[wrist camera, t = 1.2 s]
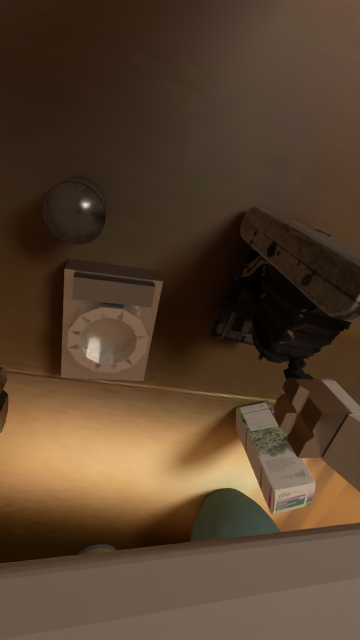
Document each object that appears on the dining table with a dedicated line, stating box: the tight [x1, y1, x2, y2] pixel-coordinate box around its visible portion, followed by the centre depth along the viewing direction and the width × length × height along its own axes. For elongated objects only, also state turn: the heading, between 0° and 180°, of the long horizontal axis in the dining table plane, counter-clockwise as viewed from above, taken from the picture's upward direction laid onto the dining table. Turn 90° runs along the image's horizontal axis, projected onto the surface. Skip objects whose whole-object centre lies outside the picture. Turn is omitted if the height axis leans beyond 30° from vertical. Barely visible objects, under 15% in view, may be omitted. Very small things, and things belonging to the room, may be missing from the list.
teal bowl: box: [190, 488, 280, 542], centre depth 58 cm, size 18×18×12 cm
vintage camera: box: [208, 207, 360, 380], centre depth 30 cm, size 10×16×20 cm, turn 160°
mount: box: [61, 259, 163, 381], centre depth 35 cm, size 14×10×5 cm
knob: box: [42, 177, 106, 244], centre depth 27 cm, size 5×5×6 cm
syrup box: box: [236, 401, 316, 515], centre depth 45 cm, size 6×6×14 cm
